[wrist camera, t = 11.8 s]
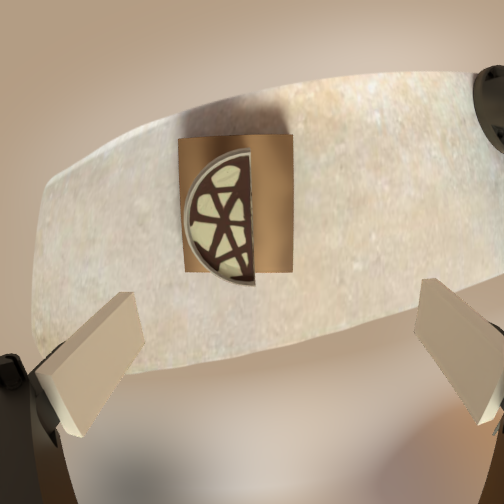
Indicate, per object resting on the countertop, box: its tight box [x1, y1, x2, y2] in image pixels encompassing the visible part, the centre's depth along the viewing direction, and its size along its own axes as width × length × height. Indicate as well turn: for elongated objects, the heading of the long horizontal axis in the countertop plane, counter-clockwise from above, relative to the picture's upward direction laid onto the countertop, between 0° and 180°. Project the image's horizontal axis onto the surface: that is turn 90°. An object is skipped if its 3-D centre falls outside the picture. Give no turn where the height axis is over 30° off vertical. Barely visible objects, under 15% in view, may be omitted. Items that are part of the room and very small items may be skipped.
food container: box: [184, 147, 255, 287], centre depth 30 cm, size 12×6×10 cm, turn 2°
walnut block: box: [178, 134, 294, 273], centre depth 37 cm, size 13×16×5 cm
